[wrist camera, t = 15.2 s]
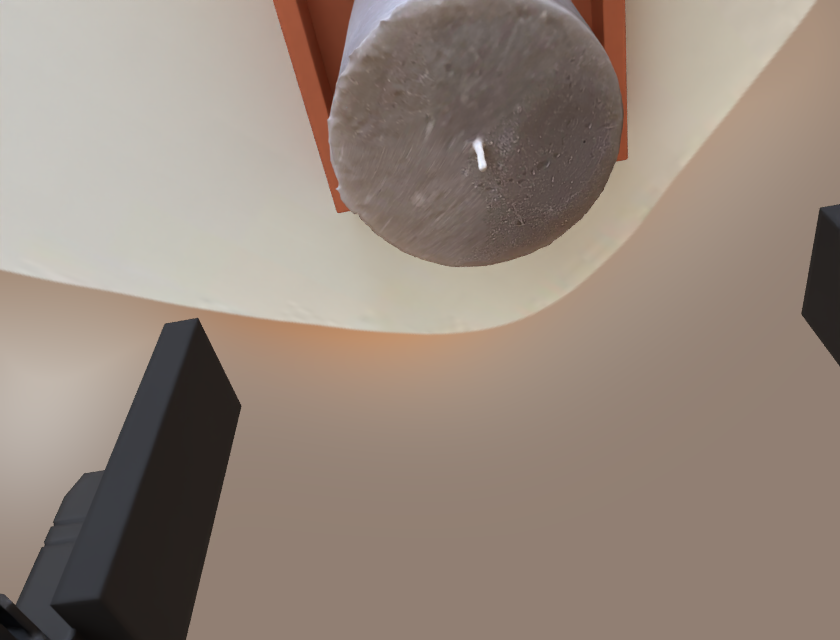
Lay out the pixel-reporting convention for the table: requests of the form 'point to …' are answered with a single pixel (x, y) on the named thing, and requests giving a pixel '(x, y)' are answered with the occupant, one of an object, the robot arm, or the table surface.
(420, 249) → the pillar candle
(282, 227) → the table surface
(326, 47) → the holder
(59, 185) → the table surface
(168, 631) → the robot arm
